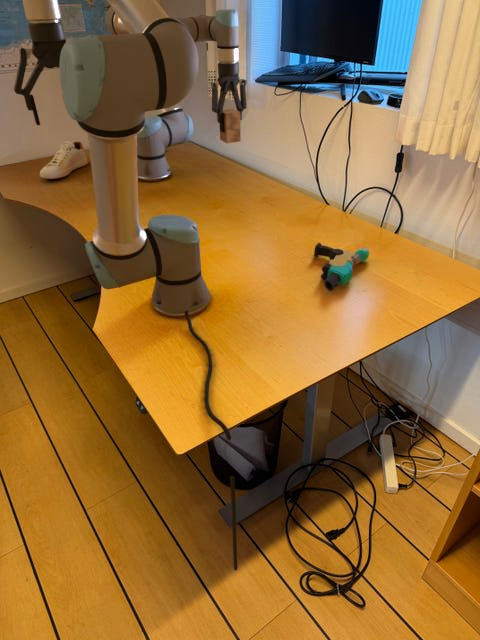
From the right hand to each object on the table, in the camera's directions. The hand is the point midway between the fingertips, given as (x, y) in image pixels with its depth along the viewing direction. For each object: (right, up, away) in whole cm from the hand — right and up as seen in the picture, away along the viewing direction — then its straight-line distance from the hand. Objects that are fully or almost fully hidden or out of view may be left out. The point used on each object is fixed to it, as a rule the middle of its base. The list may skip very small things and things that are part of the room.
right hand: (66, 120), depth 120 cm
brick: (+40, +19, +63) cm, 77 cm away
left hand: (+40, +22, +61) cm, 76 cm away
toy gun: (+71, -36, +18) cm, 81 cm away
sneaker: (-34, +15, +91) cm, 98 cm away
